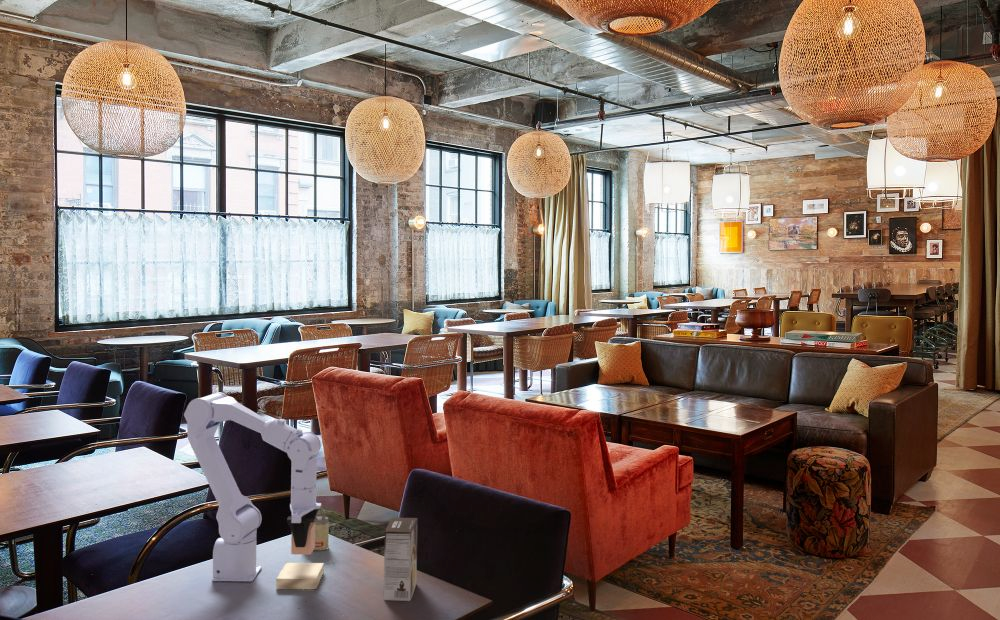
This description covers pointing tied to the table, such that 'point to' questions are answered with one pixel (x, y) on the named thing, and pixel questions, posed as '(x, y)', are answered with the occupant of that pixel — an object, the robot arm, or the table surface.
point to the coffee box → (400, 559)
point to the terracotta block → (309, 543)
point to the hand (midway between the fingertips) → (302, 542)
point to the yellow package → (321, 531)
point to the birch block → (300, 576)
